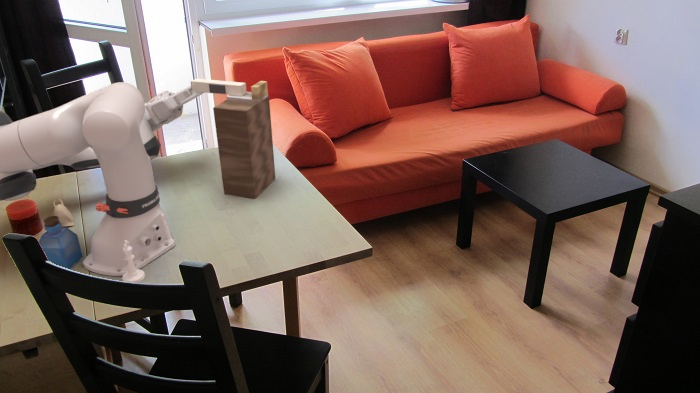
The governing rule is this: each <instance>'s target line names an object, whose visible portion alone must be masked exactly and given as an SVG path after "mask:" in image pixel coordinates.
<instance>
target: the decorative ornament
mask: <svg viewBox="0 0 700 393" xmlns="http://www.w3.org/2000/svg"><path fill="white" fill-rule="evenodd" d="M57 201H59V203H60V204H59V203H58V204H57V205H56V202H57ZM52 204H53V207H54V208H53V214H54V215H53V216H57V217H58V218H59V221H60V222H61V225H62V226H61V227H62V228H65V227H75V221H74V218H73V215H72V213H71V211H70V210H69V209H68V207H66V206H65V205H64V204H65V203H64V201H63V200H62V199H60V198H55V199H54V200H53V202H52Z"/></svg>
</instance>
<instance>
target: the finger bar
mask: <svg viewBox="0 0 700 393" xmlns="http://www.w3.org/2000/svg"><path fill="white" fill-rule="evenodd" d="M190 86H191V88H192V91H194V92H204V93H203V94H216V95H225V96H229V95H235V96H243V95H244V94H246V93H247V92H248V91H247V83H246V82H242V81H241V82H238V81H231V80H230V81H228V80H217V79H208V78H207V79H206V78H194V79H192V80H191V81H190Z"/></svg>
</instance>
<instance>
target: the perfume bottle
mask: <svg viewBox="0 0 700 393" xmlns="http://www.w3.org/2000/svg"><path fill="white" fill-rule="evenodd" d="M43 222H44V225H43V227H44V230H45V232H44V233H42V234H41V236H40V237H39V238H40V239H39V240H38V243H40V245H41V247H42V249H43V251H44V252H45V254H46V256H47V258H48V260H49V261H51V262H52V263H54V264H56V265H59V266H62V267H65V268H68V269H70V270H71V269H72V268H73V267H75V265H76V264H77V263H78V262H79V261H80V260H81V259H82V258H83V257H84V255H83V250H82V248H81V247H82V246H81V244H80V241H79V237H78V234H76V232H74V231H72V230H71V229H70V228H69V227H62V225H61V222H60V221H59V218H58V217H57V216H55V215H50V216H47V217H45V218H43Z"/></svg>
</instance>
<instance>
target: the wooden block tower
mask: <svg viewBox="0 0 700 393" xmlns="http://www.w3.org/2000/svg"><path fill="white" fill-rule="evenodd" d="M270 104H271V103H270V96H269V90H268V81H265V80H260V81H258V82H256V83H255V84H253V85H252V86H250V91H247V93H246V94H244V95H243V96H235V95H226V100H224V101H222V102H221V103H218V104H217V105H215V106H214V107H212V108H213V110H212V111H213V117H214V126H215V133H216V140H217V147H218V148H217V149H218V157H219V163H220V165H219V166H220V172H221V173H220V174H221V179H222V180H221V182H222V188H223V195H227V196H233V197H241V198H246V199H252V200H256V199H257V198H258V196H259V195H261V194H262V193H263V191H265V190H266V189H267V188H268V187H269V186H270V185H271V184H272V183H273V181H275V180H276V169H275V168H276V166H275V157H274V156H275V152H274V145H273V143H274V142H273V130H272V117H271V105H270Z"/></svg>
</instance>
